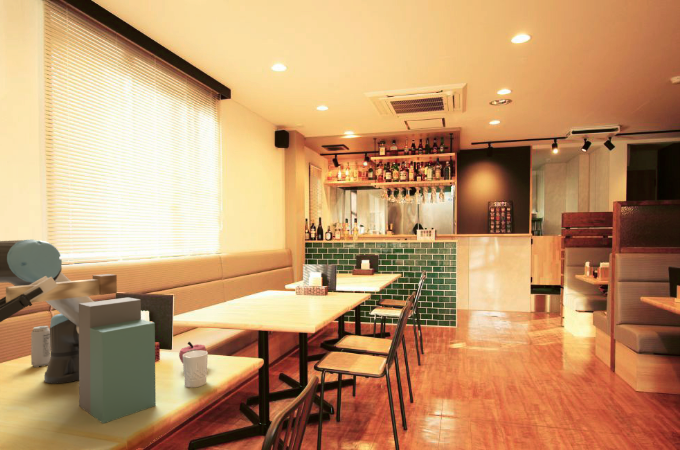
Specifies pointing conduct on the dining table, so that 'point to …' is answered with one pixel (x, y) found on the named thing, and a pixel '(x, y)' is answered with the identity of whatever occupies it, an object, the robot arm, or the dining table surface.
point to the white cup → (195, 368)
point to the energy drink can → (40, 346)
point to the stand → (115, 359)
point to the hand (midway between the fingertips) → (51, 280)
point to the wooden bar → (70, 288)
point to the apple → (190, 349)
